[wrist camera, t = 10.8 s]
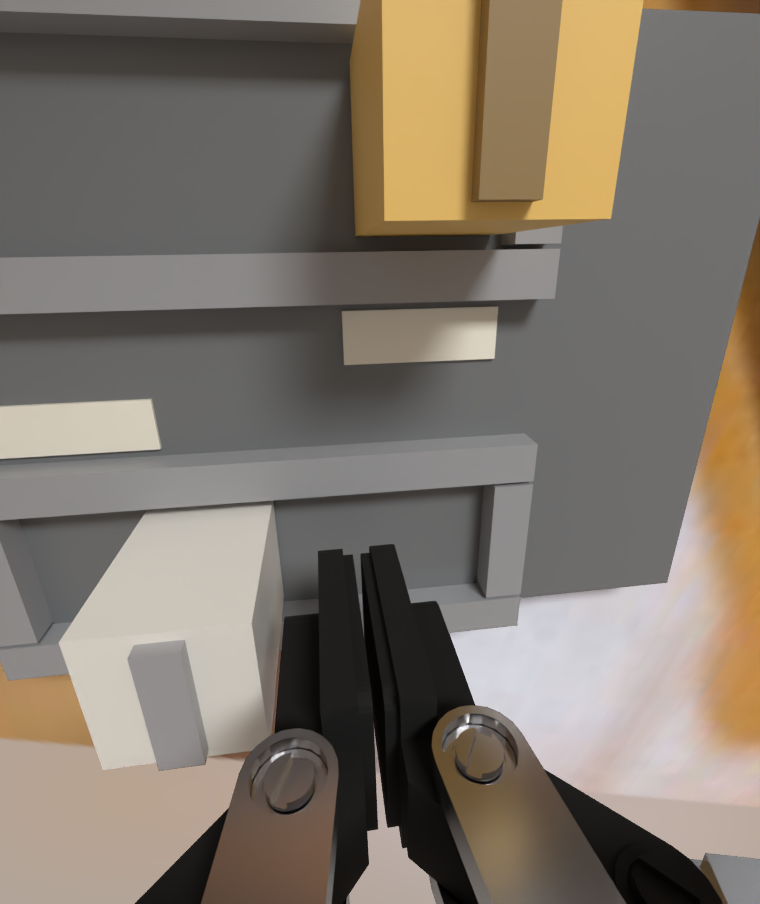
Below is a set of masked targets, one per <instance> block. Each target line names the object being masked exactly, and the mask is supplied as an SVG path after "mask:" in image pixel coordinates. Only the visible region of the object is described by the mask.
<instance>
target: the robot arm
mask: <svg viewBox="0 0 760 904" xmlns="http://www.w3.org/2000/svg"><path fill="white" fill-rule="evenodd" d="M360 560H361V581H362V602H363V624H364V634H363V627H362V619H361V612H360V604H359V597H358V589H357V582H356V574H355V566H354V559H353V554H350V555H343V549H332V550H321V551H318V596H319V613H315V614H306V615H296V616H287V617H285V618H284V625H283V637H282V649H281V661H280V673H279V686H278V698H277V710H276V722H275V734H273V735H271V736H269V737H267V738H266V739H265V740H263V741H262V742H261V743H259V744H258V745H257V746H256V747H255V748H254V749H253V750H252V752H251V753H250V754H249V755H248V757H247V758H246V759H245V762H244V764H243V766H242V769H241V771H240V773H239V776H238V779H237V783H236V786H235V789H234V793H233V796H232V800H231V803H230V806H229V808H228V809H227V810H226V811H225V812H224V813H223V815H222V816H221V817H219V819H218V820H217V821H216V822H215V823H214V824H213V825H212V826H211V827H210V828H209V829H208V830H207V831H206V832H205V833H204V834H203V835H202V836H201V837H200V838H199V839H198V840H197V841H196V842H195V843H194V844H193V845H192V846H191V847H190V848H189V849H188V850H187V851H186V852H185V853H184V854H183V855H182V856H181V857H180V858H179V859H178V860H177V861H176V862H175V863H174V864H173V865H172V866H171V867H170V868H169V870H167V871H166V872H165V873H164V874H163V876H162V877H161V878H160V879H159V880H158V881H157V882H156V883H155V884H154V885H153V886H152V887H151V888H150V889H149V890H148V891H147V892H146V893H145V894H144V895H143V896H142V897H141V898H140V899H139V900H138V901H137V902H136V903H135V904H350V902H349V893H350V892H351V890H352V889H353V887H354V886H355V884H356V883H357V881H358V880H359V878H360V877H361V875H362V874H363V872H364V871H365V869H366V867H367V866H368V865H369V858H368V840H367V831H369V830H376V829H378V820H377V796H376V771H375V747H374V729H375V737H376V745H377V752H378V760H379V768H380V775H381V783H382V791H383V798H384V805H385V814H386V821H387V827H388V828H389V827H395V826H399V830H400V837H401V843H402V848H406V847H407V851H408V857H409V858H410V859H411V860H412V861H413V862H415V863H416V864H417V865H418V866H419V867H420V868H421V869H423V870H424V871H425V872H426V873H427V874H429V877H430V883H431V889H432V892H433V895H434V898H435V902H436V904H760V859H755V858H746V857H737V856H727V855H718V854H709V853H705V855H704V858H703V860H694V859H689V858H687V857H686V856H685V855H683V854H682V853H681V852H679V851H678V850H677V849H675V848H674V847H673V846H671V845H669V844H668V843H666V842H665V841H663V840H661V839H660V838H658V837H656V836H654V835H653V834H651V833H650V832H648V831H646V830H644V829H643V828H641V827H640V826H638V825H636V824H635V823H633V822H631V821H629V820H628V819H626V818H624V817H623V816H621V815H620V814H618V813H616V812H615V811H613V810H611V809H609V808H608V807H606V806H604V805H603V804H601V803H599V802H598V801H596V800H595V799H593V798H591V797H590V796H588V795H586V794H585V793H583V792H581V791H580V790H578V789H576V788H575V787H573V786H571V785H570V784H568V783H566V782H565V781H563V780H561V779H560V778H558V777H556V776H555V775H553V774H551V773H550V772H548V771H546V770H545V769H543V767H542V765H541V764H540V762H539V760H538V759H537V757H536V755H535V754H534V752H533V751H532V749H531V747H530V746H529V744H528V742H527V741H526V739H525V737H524V736H523V734H522V733H521V732H520V730H519V729H518V728H517V727H516V725H515V724H514V723H513V722H512V721H511V720H509V719H508V718H507V717H505V716H504V715H503V714H501V713H500V712H497V711H495V710H493V709H490V708H488V707H483V706H476V705H475V703H474V701H473V698H472V695H471V692H470V690H469V687H468V684H467V681H466V679H465V676H464V673H463V670H462V668H461V665H460V662H459V659H458V656H457V654H456V651H455V648H454V645H453V643H452V640H451V637H450V634H449V632H448V629H447V626H446V623H445V621H444V618H443V615H442V612H441V610H440V607H439V605H438V603H437V602H436V601H427V602H418V603H411V601H410V597H409V594H408V590H407V587H406V583H405V580H404V576H403V573H402V569H401V566H400V562H399V559H398V555H397V552H396V548H395V545H394V544H386V545H375V546H369V553H361V554H360ZM373 721H374V723H373Z"/></svg>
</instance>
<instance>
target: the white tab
mask: <svg viewBox="0 0 760 904" xmlns="http://www.w3.org/2000/svg"><path fill="white" fill-rule="evenodd" d="M283 599H284V592H283V583H282V574H281V565H280V556H279V548H278V539H277V530H276V521H275V512H274V503H273V500H272V501H258V502H245V503H231V504H217V505H204V506H190V507H176V508H163V509H149V510H147V511H146V512H145V514H144V515H143V517H142V518H141V520H140V521H139V523H138V524H137V526H136V527H135V529H134V530H133V532H132V533H131V535H130V536H129V538H128V539H127V541H126V542H125V544H124V545H123V547H122V548H121V550H120V551H119V553H118V554H117V556H116V557H115V559H114V560H113V562H112V563H111V565H110V566H109V568H108V569H107V571H106V572H105V574H104V575H103V577H102V578H101V580H100V581H99V583H98V584H97V586H96V587H95V589H94V590H93V592H92V593H91V595H90V596H89V598H88V599H87V601H86V602H85V604H84V605H83V607H82V608H81V610H80V611H79V613H78V614H77V616H76V617H75V619H74V620H73V622H72V623H71V625H70V626H69V628H68V629H67V631H66V632H65V634H64V635H63V637H62V638H61V640H60V641H59V645H60V648H61V651H62V654H63V657H64V660H65V663H66V666H67V668H68V671H69V674H70V677H71V680H72V683H73V686H74V689H75V692H76V694H77V697H78V700H79V703H80V706H81V709H82V712H83V715H84V717H85V720H86V723H87V726H88V729H89V732H90V735H91V738H92V741H93V743H94V746H95V749H96V752H97V755H98V758H99V761H100V763H101V766H102V769H103V770H110V769H117V768H125V767H132V766H140V765H148V764H155V763H157V766H158V770H159V771H160V770H169V769H177V768H184V767H192V766H198V765H205V764H206V759H207V757H209V756H217V755H224V754H232V753H240V752H247V751H252V750H253V749H254V748H255V747H256V746H257V745H258V744H259V743H261V742H262V741H263V740H265V739H266V738H267V737H269V736H271V734H272V723H273V712H274V700H275V689H276V678H277V667H278V655H279V644H280V633H281V622H282V610H283Z"/></svg>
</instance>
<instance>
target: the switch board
mask: <svg viewBox="0 0 760 904" xmlns="http://www.w3.org/2000/svg"><path fill="white" fill-rule="evenodd" d="M360 1H361V0H0V662H1V665H2V667H3V669H4V672H5V674H6V677H7V679H8V681H9V680H18V679H28V678H37V677H46V676H55V675H64V674H69V671H68V668H67V666H66V663H65V660H64V657H63V654H62V651H61V648H60V645H59V641H60V640H61V638H62V637H63V635H64V634H65V632H66V631H67V629H68V628H69V626H70V625H71V623H72V622H73V620H74V619H75V617H76V616H77V614H78V613H79V611H80V610H81V608H82V607H83V605H84V604H85V602H86V601H87V599H88V598H89V596H90V595H91V593H92V592H93V590H94V589H95V587H96V586H97V584H98V583H99V581H100V580H101V578H102V577H103V575H104V574H105V572H106V571H107V569H108V568H109V566H110V565H111V563H112V562H113V560H114V559H115V557H116V556H117V554H118V553H119V551H120V550H121V548H122V547H123V545H124V544H125V542H126V541H127V539H128V538H129V536H130V535H131V533H132V532H133V530H134V529H135V527H136V526H137V524H138V523H139V521H140V520H141V518H142V517H143V515H144V514H145V512H146V511H147V510H149V509H163V508H176V507H190V506H204V505H217V504H231V503H245V502H258V501H272V500H273V503H274V512H275V521H276V530H277V539H278V548H279V556H280V565H281V574H282V583H283V592H284V599H283V610H282V622H281V633H280V644H279V651H281V649H282V637H283V625H284V618H285V617H287V616H296V615H306V614H315V613H319V596H318V551H321V550H332V549H343V555H350V554H353V559H354V566H355V574H356V582H357V589H358V597H359V604H360V612H361V619H362V627H363V634H364V624H363V602H362V581H361V560H360V554H361V553H369V546H375V545H386V544H394V545H395V548H396V552H397V555H398V559H399V562H400V566H401V569H402V573H403V576H404V580H405V583H406V587H407V590H408V594H409V597H410V601H411V603H418V602H427V601H436V602H437V603H438V605H439V607H440V610H441V612H442V615H443V618H444V621H445V623H446V626H447V629H448V632H449V633H451V632H461V631H470V630H479V629H488V628H498V627H507V626H516V625H517V621H518V612H519V603H520V598H521V597H530V596H540V595H550V594H560V593H570V592H579V591H589V590H599V589H609V588H619V587H629V586H638V585H648V584H658V583H667V580H668V576H669V572H670V568H671V564H672V560H673V556H674V552H675V548H676V544H677V540H678V537H679V533H680V529H681V525H682V521H683V517H684V513H685V509H686V505H687V501H688V497H689V493H690V489H691V485H692V481H693V477H694V474H695V470H696V466H697V462H698V458H699V454H700V450H701V446H702V442H703V438H704V434H705V430H706V426H707V422H708V418H709V414H710V411H711V407H712V403H713V399H714V395H715V391H716V387H717V383H718V379H719V375H720V371H721V367H722V363H723V359H724V355H725V351H726V347H727V344H728V340H729V336H730V332H731V328H732V324H733V320H734V316H735V312H736V308H737V304H738V300H739V296H740V292H741V288H742V284H743V281H744V277H745V273H746V269H747V265H748V261H749V257H750V253H751V249H752V245H753V241H754V237H755V233H756V229H757V225H758V221H759V218H760V14H750V13H728V12H705V11H683V10H660V9H642V14H641V21H640V27H639V34H638V41H637V47H636V54H635V61H634V68H633V74H632V81H631V88H630V94H629V101H628V108H627V115H626V121H625V128H624V135H623V142H622V148H621V155H620V162H619V168H618V175H617V182H616V189H615V195H614V202H613V209H612V215H611V219H607V220H599V221H592V222H585V223H578V224H570V225H563V226H556V227H549V228H542V229H534V230H527V231H520V232H513V233H506V234H498V235H476V236H396V237H355V213H354V182H353V152H352V121H351V91H350V56H351V51H352V45H353V40H354V34H355V29H356V23H357V17H358V12H359V6H360Z"/></svg>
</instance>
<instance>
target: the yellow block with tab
mask: <svg viewBox="0 0 760 904" xmlns="http://www.w3.org/2000/svg"><path fill="white" fill-rule="evenodd" d="M642 7H643V0H361V1H360V6H359V12H358V17H357V23H356V29H355V34H354V40H353V45H352V51H351V56H350V91H351V121H352V152H353V182H354V213H355V237H396V236H476V235H498V234H506V233H513V232H520V231H527V230H534V229H542V228H549V227H556V226H563V225H570V224H578V223H585V222H592V221H599V220H607V219H611V215H612V209H613V202H614V195H615V189H616V182H617V175H618V168H619V162H620V155H621V148H622V142H623V135H624V128H625V121H626V115H627V108H628V101H629V94H630V88H631V81H632V74H633V68H634V61H635V54H636V47H637V41H638V34H639V27H640V21H641V14H642Z"/></svg>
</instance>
